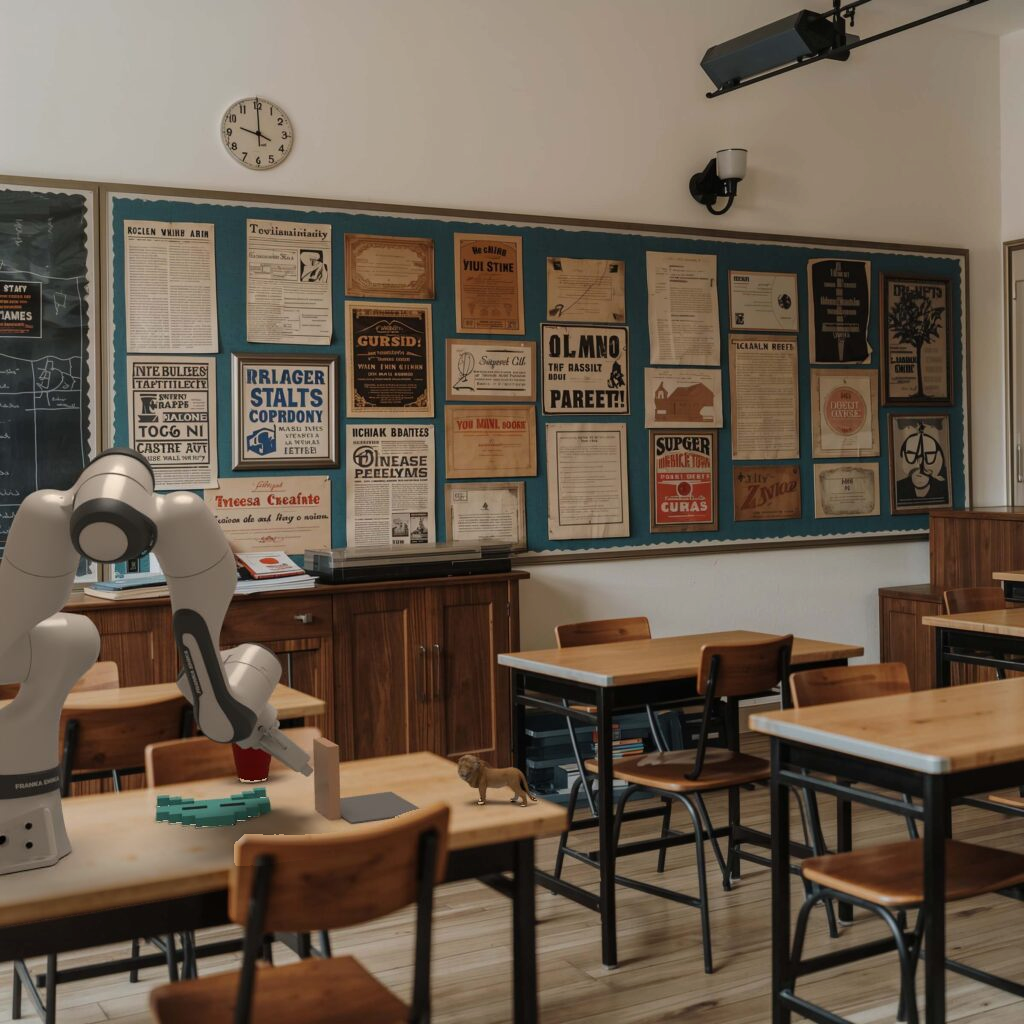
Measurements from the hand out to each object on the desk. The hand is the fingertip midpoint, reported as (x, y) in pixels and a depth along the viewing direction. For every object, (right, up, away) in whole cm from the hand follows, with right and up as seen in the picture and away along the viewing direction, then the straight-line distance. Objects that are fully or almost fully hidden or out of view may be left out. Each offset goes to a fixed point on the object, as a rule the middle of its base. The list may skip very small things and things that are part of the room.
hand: (308, 772), depth 220 cm
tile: (+3, -8, +2) cm, 9 cm away
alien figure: (-18, -9, +5) cm, 21 cm away
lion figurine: (+33, -7, +7) cm, 35 cm away
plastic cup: (-16, -8, +31) cm, 36 cm away
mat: (+11, -8, +6) cm, 14 cm away
